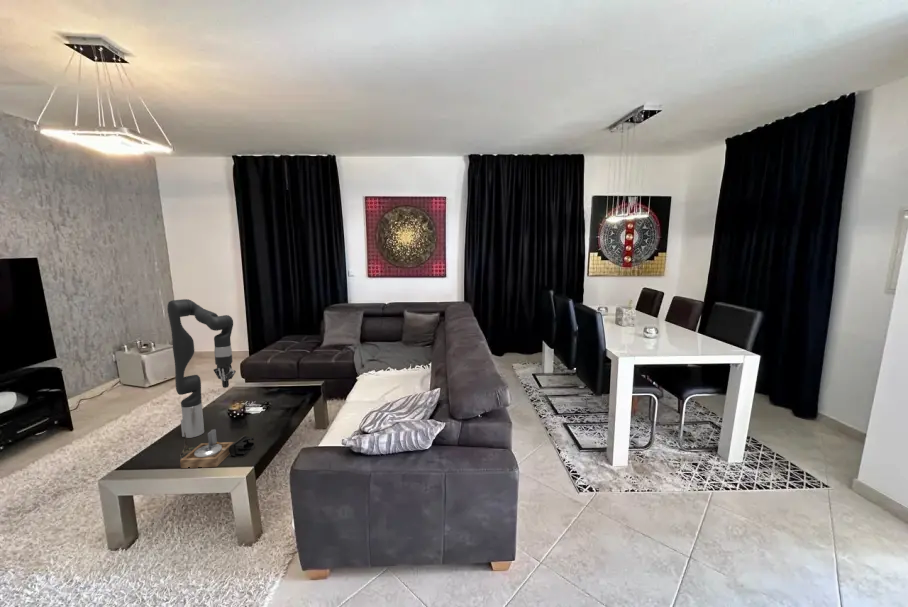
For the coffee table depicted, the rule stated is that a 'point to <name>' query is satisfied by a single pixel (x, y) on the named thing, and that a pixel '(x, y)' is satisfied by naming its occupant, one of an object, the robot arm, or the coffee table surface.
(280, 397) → the coffee table surface
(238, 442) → the end cap
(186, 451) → the eiffel tower figurine
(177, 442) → the coffee table surface
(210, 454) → the dial
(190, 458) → the wooden square tray
